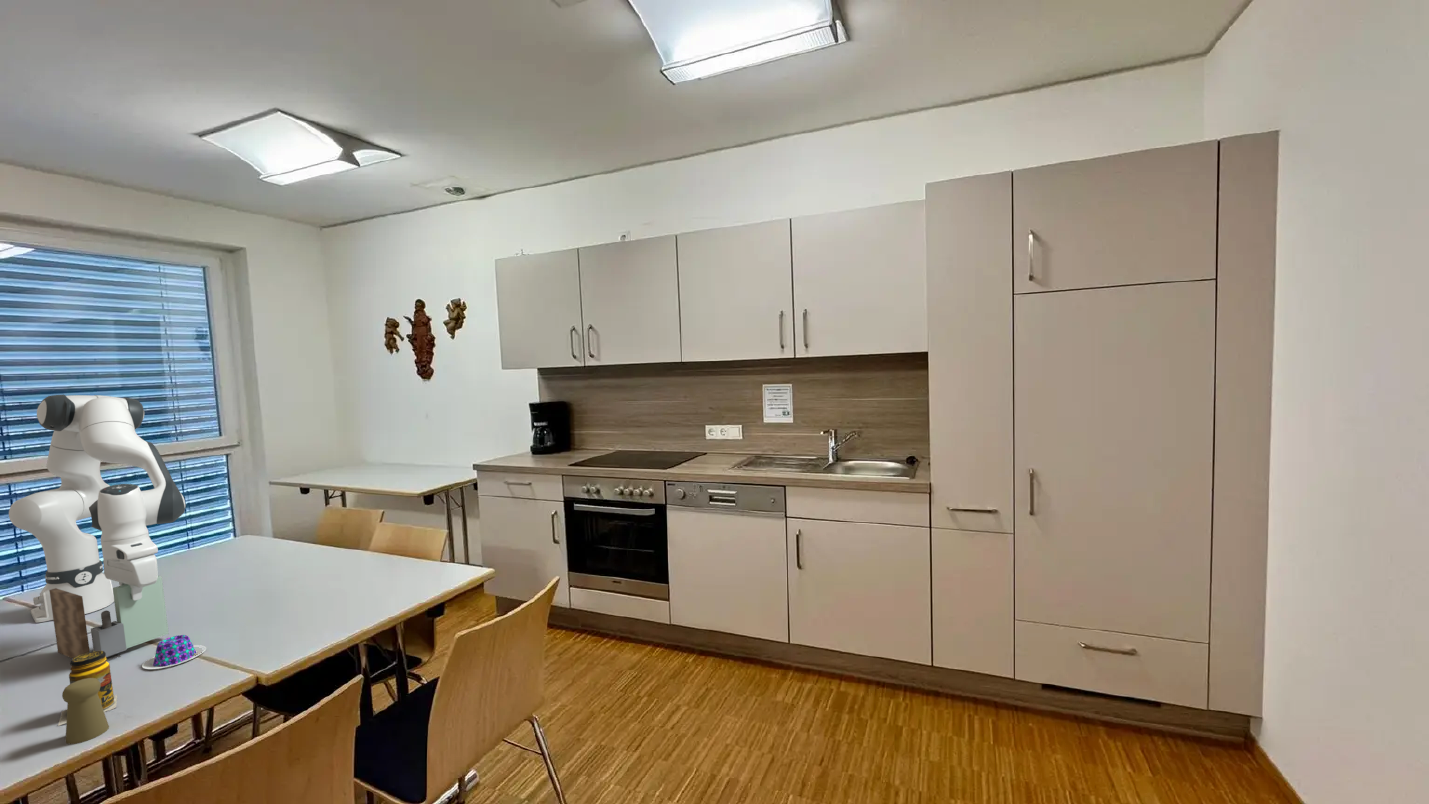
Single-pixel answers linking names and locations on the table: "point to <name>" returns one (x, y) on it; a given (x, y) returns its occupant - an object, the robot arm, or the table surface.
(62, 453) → the robot arm
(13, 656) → the table surface
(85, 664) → the condiment
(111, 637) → the door
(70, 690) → the cork
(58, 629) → the cabinet side
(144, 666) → the purple domed brimmed piece
